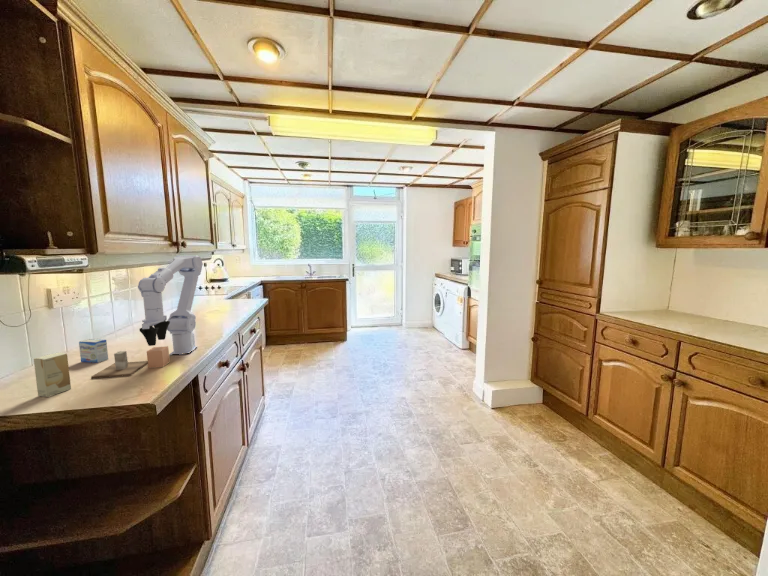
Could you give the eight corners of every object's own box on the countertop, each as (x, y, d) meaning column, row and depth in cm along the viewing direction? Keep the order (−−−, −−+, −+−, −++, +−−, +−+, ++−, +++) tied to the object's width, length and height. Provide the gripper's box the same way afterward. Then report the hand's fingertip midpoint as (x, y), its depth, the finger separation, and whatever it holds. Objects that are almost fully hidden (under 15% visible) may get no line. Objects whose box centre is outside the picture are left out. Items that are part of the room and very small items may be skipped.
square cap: (155, 363, 122) (153, 347, 121) (169, 362, 123) (168, 346, 123) (148, 367, 117) (146, 351, 116) (163, 366, 118) (161, 350, 118)
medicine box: (80, 362, 123) (77, 341, 122) (92, 358, 127) (89, 338, 126) (97, 363, 122) (95, 342, 121) (109, 359, 127) (106, 339, 125)
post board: (114, 365, 120) (112, 348, 119) (149, 362, 123) (147, 345, 122) (91, 378, 107) (88, 359, 107) (130, 375, 110) (128, 357, 109)
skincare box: (47, 397, 94) (42, 359, 92) (37, 396, 95) (31, 358, 93) (72, 388, 100) (68, 352, 98) (62, 387, 101) (57, 351, 99)
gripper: (151, 305, 124) (154, 337, 125) (130, 312, 110) (134, 349, 111) (171, 304, 125) (174, 336, 127) (153, 311, 111) (156, 347, 113)
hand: (157, 342), depth 119 cm, fingers open, 7 cm apart
